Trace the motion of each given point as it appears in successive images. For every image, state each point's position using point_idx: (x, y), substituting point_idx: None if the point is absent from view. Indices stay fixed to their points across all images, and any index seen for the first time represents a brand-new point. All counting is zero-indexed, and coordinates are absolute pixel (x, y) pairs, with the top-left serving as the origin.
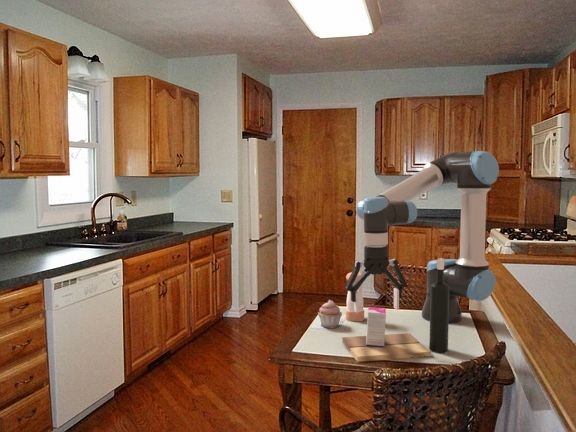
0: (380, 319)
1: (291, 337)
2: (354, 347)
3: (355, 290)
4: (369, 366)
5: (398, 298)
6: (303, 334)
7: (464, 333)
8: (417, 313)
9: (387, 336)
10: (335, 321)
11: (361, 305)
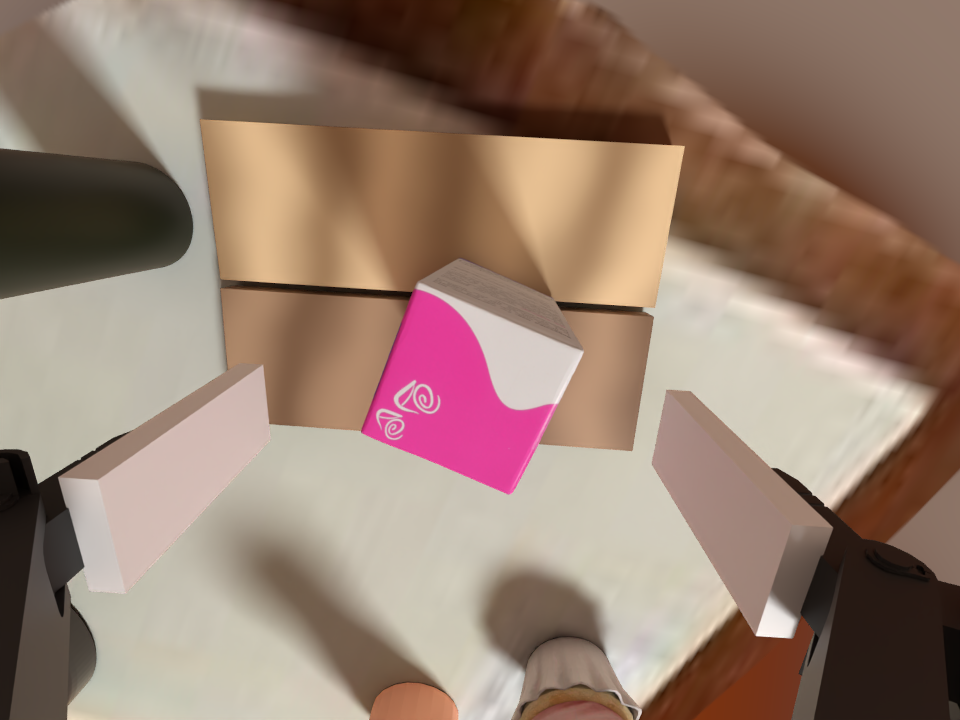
0: (471, 290)
1: None
2: (625, 305)
3: (872, 564)
4: (639, 53)
5: (168, 413)
6: None
7: None
8: (106, 702)
9: None
10: (560, 663)
11: None
